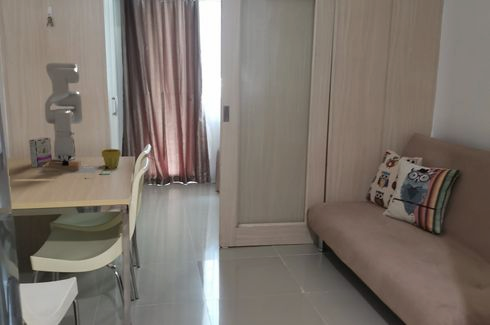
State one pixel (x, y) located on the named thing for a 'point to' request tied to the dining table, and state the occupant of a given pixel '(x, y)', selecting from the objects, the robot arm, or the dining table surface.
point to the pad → (105, 173)
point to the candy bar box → (40, 152)
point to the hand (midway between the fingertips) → (65, 167)
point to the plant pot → (111, 157)
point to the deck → (82, 170)
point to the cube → (75, 164)
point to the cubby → (57, 168)
